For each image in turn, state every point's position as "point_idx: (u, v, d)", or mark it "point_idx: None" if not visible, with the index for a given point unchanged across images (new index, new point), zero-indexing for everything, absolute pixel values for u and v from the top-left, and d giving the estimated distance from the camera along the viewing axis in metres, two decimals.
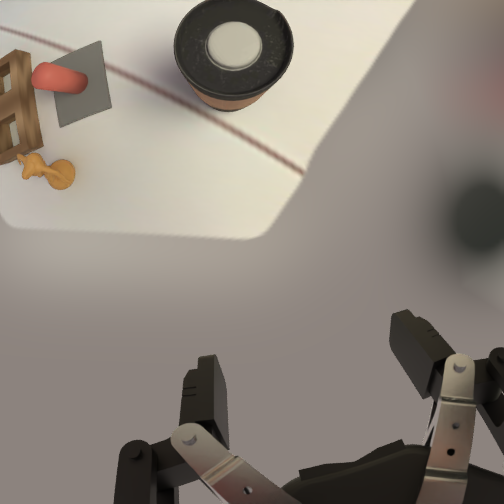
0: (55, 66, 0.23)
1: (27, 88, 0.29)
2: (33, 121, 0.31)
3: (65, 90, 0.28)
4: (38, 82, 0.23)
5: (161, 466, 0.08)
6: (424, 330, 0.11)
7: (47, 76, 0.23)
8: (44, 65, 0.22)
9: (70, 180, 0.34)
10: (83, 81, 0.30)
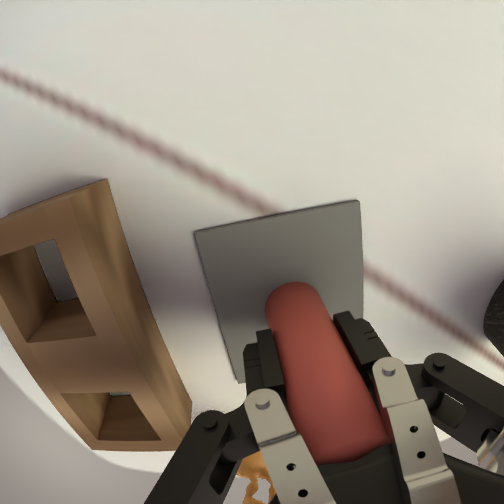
0: None
1: (136, 311, 0.14)
2: (170, 379, 0.16)
3: None
4: None
5: (230, 442, 0.09)
6: (360, 331, 0.12)
7: None
8: (367, 445, 0.07)
9: None
10: None
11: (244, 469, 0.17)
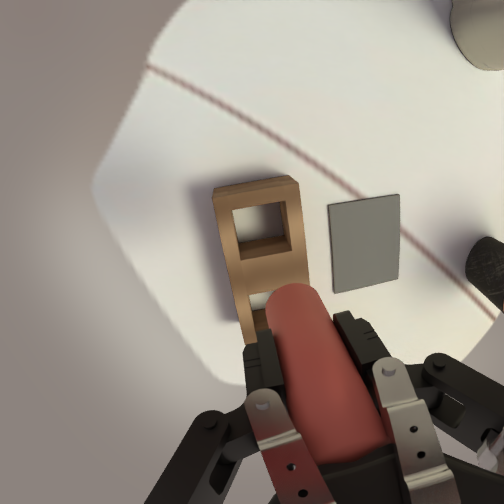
0: (381, 421, 0.08)
1: None
2: None
3: None
4: None
5: (230, 442, 0.09)
6: (360, 332, 0.12)
7: None
8: (367, 446, 0.07)
9: None
10: None
11: None
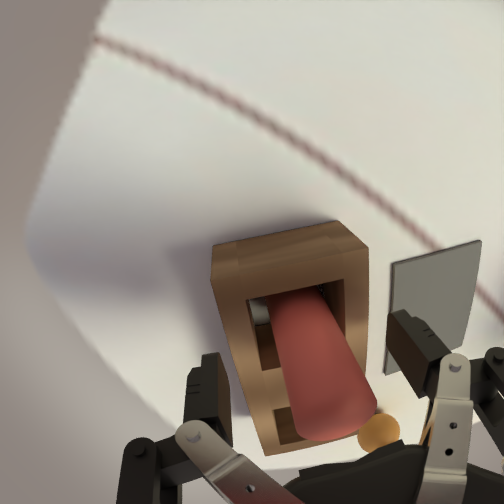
0: (365, 379, 0.10)
1: None
2: None
3: None
4: (322, 430, 0.10)
5: (165, 464, 0.08)
6: (420, 330, 0.11)
7: (355, 419, 0.10)
8: (351, 397, 0.09)
9: None
10: None
11: (383, 444, 0.21)
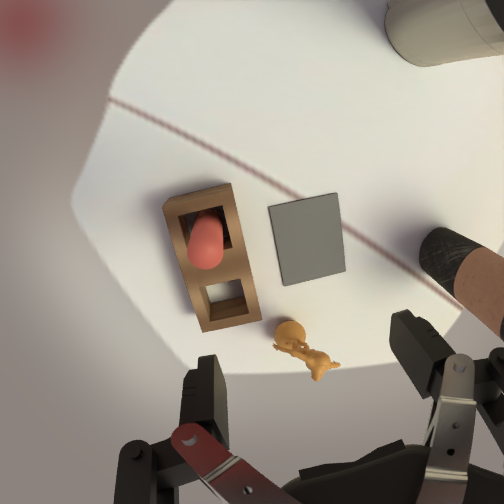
0: (219, 238, 0.26)
1: None
2: None
3: None
4: (200, 260, 0.26)
5: (161, 466, 0.08)
6: (424, 330, 0.11)
7: (214, 255, 0.26)
8: (207, 239, 0.25)
9: None
10: None
11: (288, 339, 0.37)
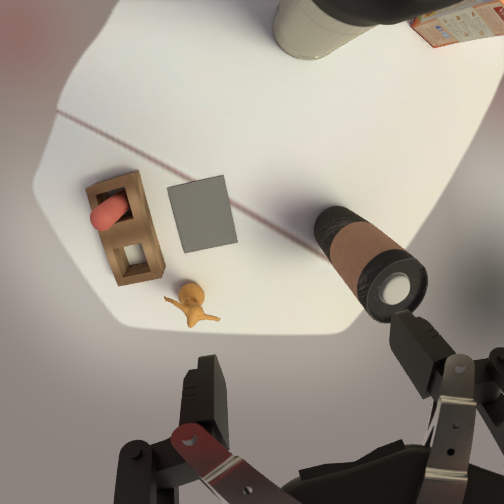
0: (112, 208, 0.34)
1: (146, 214, 0.41)
2: (157, 246, 0.44)
3: None
4: (98, 224, 0.34)
5: (161, 466, 0.08)
6: (424, 330, 0.11)
7: (107, 220, 0.34)
8: (102, 209, 0.33)
9: (202, 302, 0.47)
10: None
11: (186, 297, 0.45)
